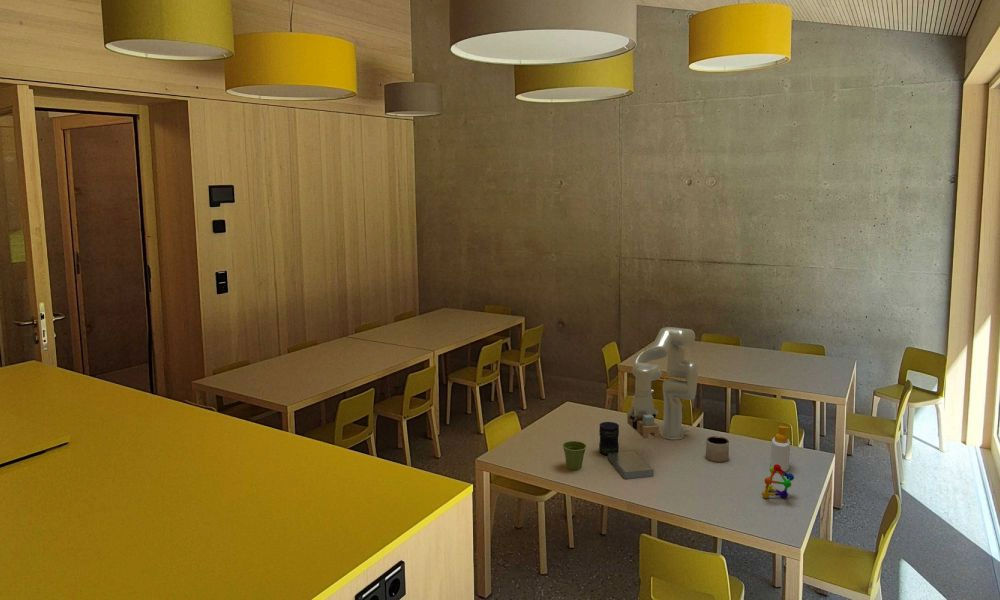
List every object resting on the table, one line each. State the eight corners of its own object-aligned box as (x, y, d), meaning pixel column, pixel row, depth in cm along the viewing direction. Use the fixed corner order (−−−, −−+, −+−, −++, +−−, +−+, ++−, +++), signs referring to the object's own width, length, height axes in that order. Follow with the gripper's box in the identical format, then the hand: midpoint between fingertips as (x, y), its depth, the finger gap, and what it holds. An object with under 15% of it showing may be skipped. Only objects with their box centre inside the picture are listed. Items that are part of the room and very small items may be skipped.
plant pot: (571, 474, 327) (571, 451, 325) (557, 465, 337) (557, 443, 335) (591, 469, 332) (591, 447, 330) (577, 460, 343) (577, 439, 341)
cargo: (650, 422, 330) (650, 414, 330) (653, 425, 327) (654, 417, 326) (642, 422, 330) (642, 414, 329) (645, 425, 326) (646, 417, 325)
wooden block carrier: (627, 422, 346) (627, 412, 345) (640, 421, 347) (640, 411, 346) (644, 438, 325) (644, 427, 324) (658, 437, 326) (658, 426, 325)
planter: (729, 456, 345) (730, 437, 343) (727, 464, 335) (727, 445, 334) (707, 452, 350) (708, 434, 348) (704, 460, 340) (704, 442, 338)
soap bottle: (789, 473, 324) (791, 432, 320) (770, 471, 326) (772, 430, 323) (788, 462, 336) (790, 423, 332) (770, 460, 339) (772, 421, 335)
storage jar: (618, 457, 345) (618, 429, 343) (598, 456, 347) (598, 428, 345) (618, 449, 355) (619, 422, 352) (599, 448, 357) (599, 421, 354)
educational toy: (794, 506, 294) (796, 475, 290) (761, 502, 298) (763, 471, 294) (792, 488, 308) (794, 457, 304) (761, 484, 312) (762, 454, 308)
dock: (634, 456, 346) (634, 450, 346) (653, 476, 323) (653, 470, 323) (607, 458, 344) (607, 452, 343) (624, 479, 321) (624, 472, 320)
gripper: (656, 389, 338) (656, 423, 341) (623, 391, 335) (622, 426, 338) (663, 393, 330) (662, 429, 334) (628, 396, 327) (628, 432, 330)
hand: (642, 427), depth 336 cm, fingers closed on wooden block carrier, 7 cm apart
